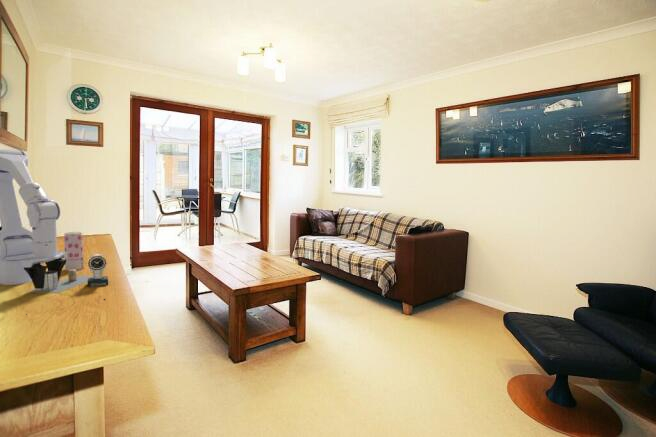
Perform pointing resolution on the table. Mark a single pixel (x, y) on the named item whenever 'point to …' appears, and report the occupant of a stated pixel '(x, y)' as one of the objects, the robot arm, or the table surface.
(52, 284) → the gray hollow cylinder
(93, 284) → the watch
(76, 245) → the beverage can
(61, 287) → the board
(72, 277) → the post
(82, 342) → the table surface
